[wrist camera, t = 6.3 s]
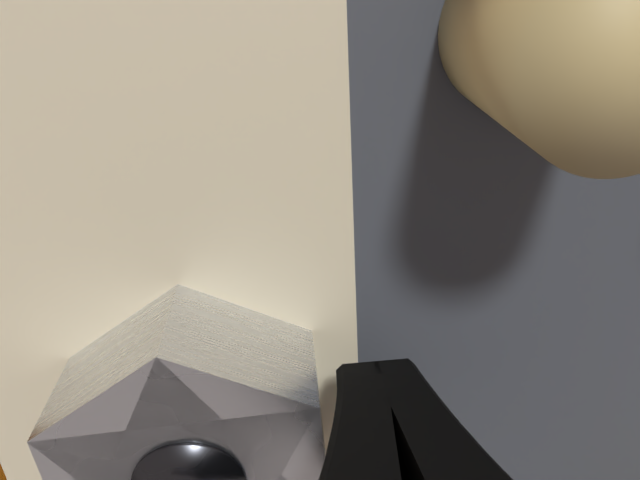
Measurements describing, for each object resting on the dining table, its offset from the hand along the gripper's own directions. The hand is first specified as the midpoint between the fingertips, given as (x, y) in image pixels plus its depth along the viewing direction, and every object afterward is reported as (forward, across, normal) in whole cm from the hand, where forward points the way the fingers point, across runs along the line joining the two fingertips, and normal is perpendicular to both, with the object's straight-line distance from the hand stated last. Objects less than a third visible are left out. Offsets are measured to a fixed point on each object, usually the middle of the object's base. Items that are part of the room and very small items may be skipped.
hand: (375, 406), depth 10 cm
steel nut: (+1, +3, 0) cm, 3 cm away
